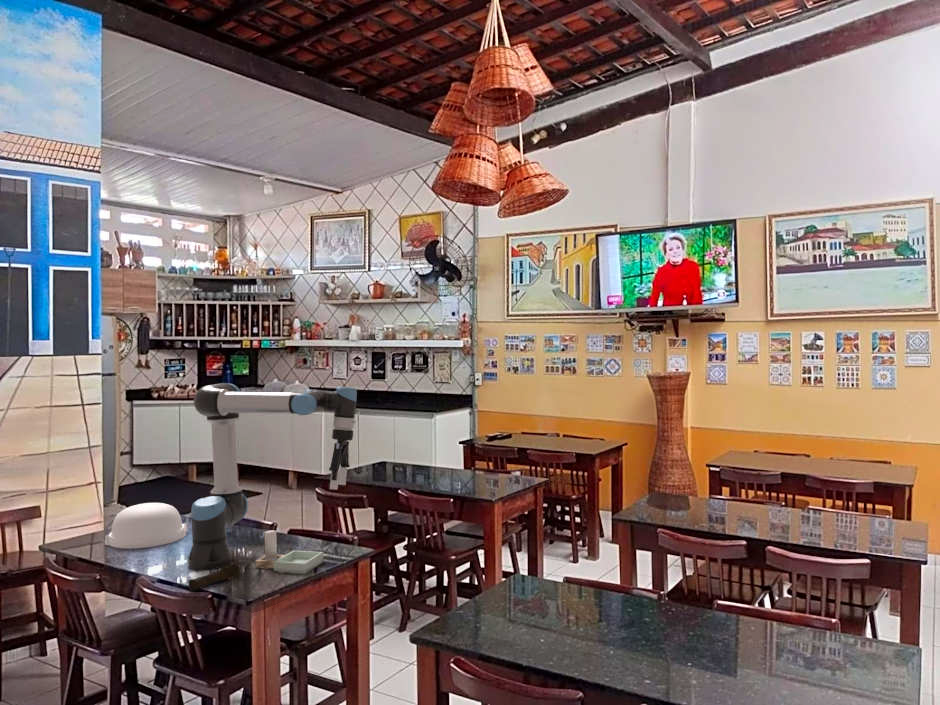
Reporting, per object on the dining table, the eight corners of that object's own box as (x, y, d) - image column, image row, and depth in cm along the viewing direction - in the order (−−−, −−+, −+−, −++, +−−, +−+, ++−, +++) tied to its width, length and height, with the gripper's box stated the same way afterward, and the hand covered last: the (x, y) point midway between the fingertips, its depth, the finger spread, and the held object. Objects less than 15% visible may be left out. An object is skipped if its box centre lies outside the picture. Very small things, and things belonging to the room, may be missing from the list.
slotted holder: (255, 567, 265) (255, 560, 265) (267, 561, 273) (267, 554, 273) (275, 569, 263) (275, 561, 263) (286, 562, 271) (286, 555, 270)
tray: (273, 571, 260) (273, 561, 260) (293, 559, 273) (293, 550, 273) (305, 573, 257) (304, 563, 256) (323, 561, 270) (323, 552, 270)
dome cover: (179, 525, 330) (178, 493, 330) (196, 539, 306) (195, 505, 305) (99, 537, 312) (98, 504, 312) (111, 554, 288) (109, 517, 287)
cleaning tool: (263, 566, 266) (262, 533, 266) (269, 563, 270) (268, 530, 270) (273, 566, 265) (272, 533, 265) (279, 563, 269) (278, 530, 269)
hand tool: (195, 592, 240) (194, 578, 240) (187, 590, 243) (187, 576, 243) (244, 577, 256) (243, 563, 256) (236, 574, 258) (236, 561, 258)
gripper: (346, 431, 261) (340, 492, 260) (359, 428, 286) (354, 483, 285) (325, 429, 262) (319, 490, 261) (340, 426, 287) (335, 482, 286)
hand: (337, 487), depth 273 cm, fingers open, 13 cm apart
